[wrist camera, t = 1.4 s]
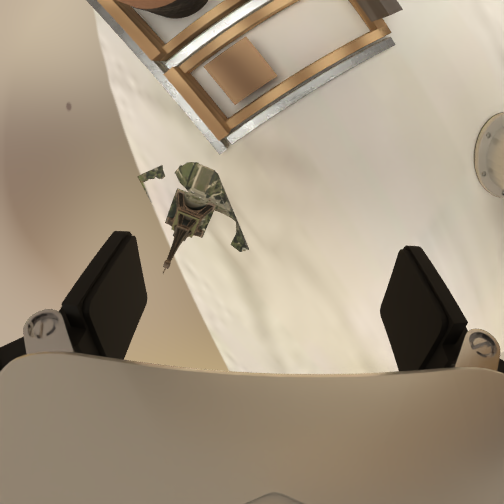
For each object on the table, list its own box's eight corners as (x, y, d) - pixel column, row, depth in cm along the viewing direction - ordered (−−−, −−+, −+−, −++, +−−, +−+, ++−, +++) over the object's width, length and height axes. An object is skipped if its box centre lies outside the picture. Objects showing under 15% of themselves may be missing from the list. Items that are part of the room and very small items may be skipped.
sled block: (339, -29, 23) (357, -51, 17) (385, 33, 27) (414, 27, 20) (176, 73, 31) (153, 75, 24) (224, 131, 35) (214, 148, 28)
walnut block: (248, 41, 29) (245, 36, 25) (275, 75, 31) (277, 76, 27) (211, 66, 31) (203, 66, 26) (239, 100, 33) (234, 104, 29)
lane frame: (253, -109, 17) (252, -118, 15) (390, 45, 28) (398, 44, 26) (94, 0, 25) (84, -3, 23) (222, 149, 36) (219, 154, 34)
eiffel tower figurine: (251, 248, 44) (246, 317, 32) (185, 267, 46) (162, 335, 35) (207, 145, 36) (180, 185, 25) (136, 175, 38) (88, 224, 27)
